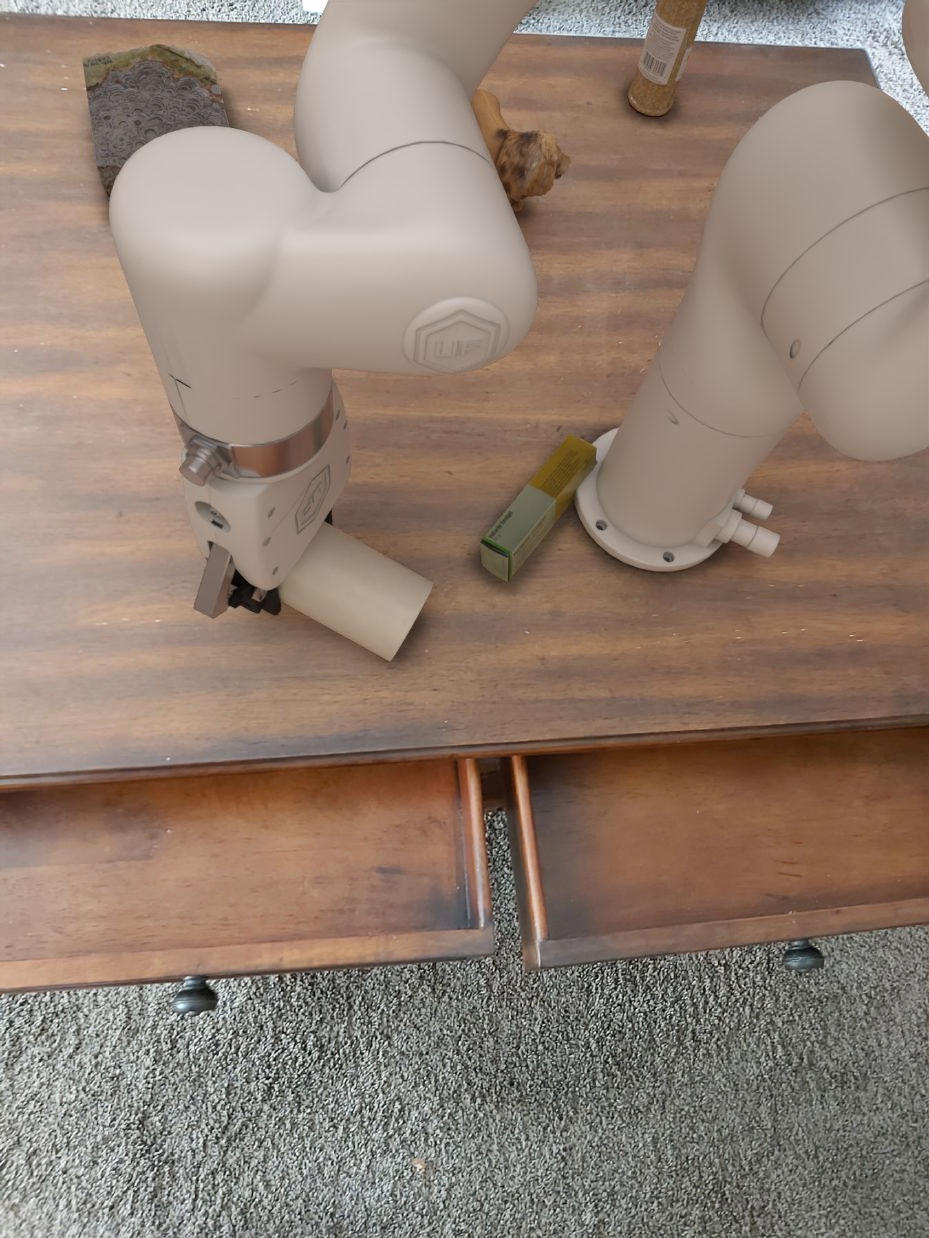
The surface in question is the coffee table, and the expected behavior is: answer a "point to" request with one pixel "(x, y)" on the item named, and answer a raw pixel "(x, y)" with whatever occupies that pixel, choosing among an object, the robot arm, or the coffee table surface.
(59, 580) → the coffee table surface
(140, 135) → the geological specimen
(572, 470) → the medication box
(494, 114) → the lion figurine
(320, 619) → the paper towel roll
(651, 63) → the sprinkles bottle
